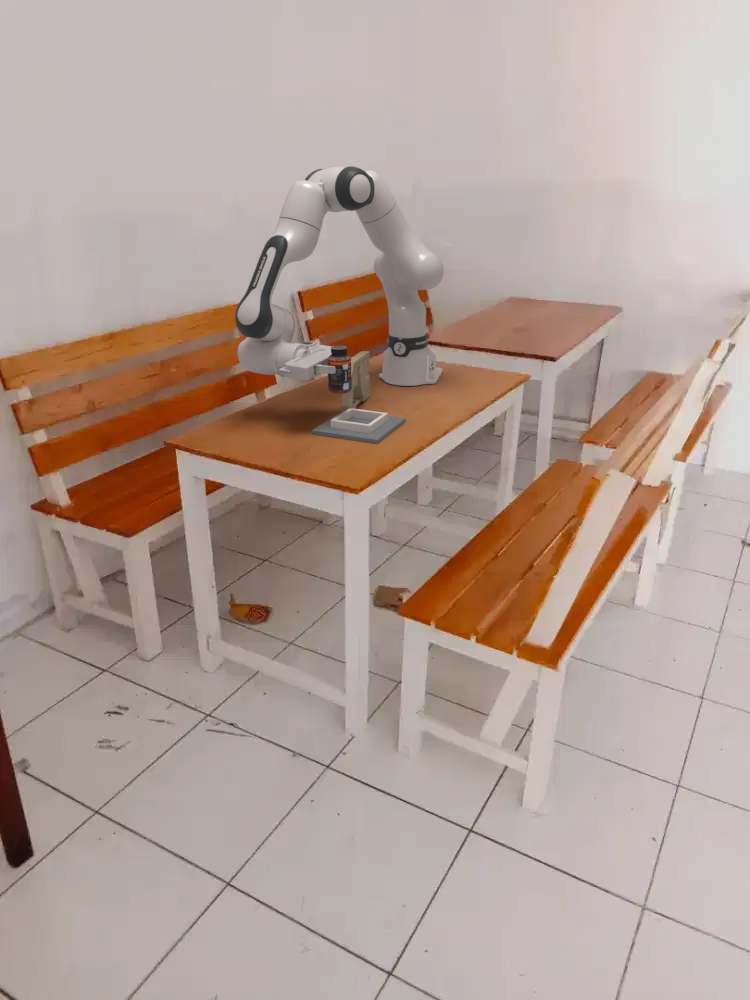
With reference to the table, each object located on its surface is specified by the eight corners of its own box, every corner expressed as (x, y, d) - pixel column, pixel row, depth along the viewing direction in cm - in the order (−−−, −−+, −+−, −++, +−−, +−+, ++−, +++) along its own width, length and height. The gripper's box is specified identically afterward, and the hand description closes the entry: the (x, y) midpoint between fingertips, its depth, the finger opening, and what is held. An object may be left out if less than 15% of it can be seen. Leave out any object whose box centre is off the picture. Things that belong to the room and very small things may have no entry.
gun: (352, 421, 208) (352, 364, 203) (340, 420, 209) (339, 364, 204) (370, 402, 231) (371, 350, 226) (359, 401, 231) (359, 350, 226)
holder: (344, 413, 213) (344, 402, 212) (405, 421, 206) (405, 410, 205) (312, 434, 198) (311, 422, 197) (377, 443, 191) (377, 432, 190)
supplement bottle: (353, 393, 199) (352, 349, 194) (329, 395, 198) (328, 350, 193) (350, 387, 204) (349, 343, 199) (327, 388, 203) (325, 344, 198)
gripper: (273, 358, 193) (322, 363, 188) (313, 340, 210) (360, 344, 205) (274, 383, 196) (323, 389, 191) (314, 363, 213) (360, 368, 207)
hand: (342, 366), depth 198 cm, fingers closed on supplement bottle, 6 cm apart
